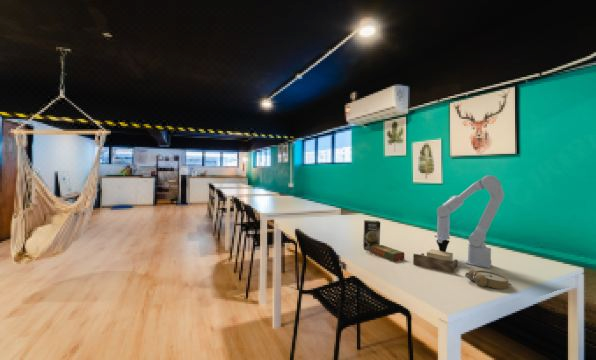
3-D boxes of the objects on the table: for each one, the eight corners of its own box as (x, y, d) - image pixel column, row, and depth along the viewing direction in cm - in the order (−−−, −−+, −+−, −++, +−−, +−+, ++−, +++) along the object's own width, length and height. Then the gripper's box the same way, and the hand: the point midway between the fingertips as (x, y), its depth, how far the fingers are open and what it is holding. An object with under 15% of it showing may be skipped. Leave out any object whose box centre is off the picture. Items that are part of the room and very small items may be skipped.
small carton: (452, 260, 136) (452, 253, 136) (448, 264, 130) (448, 256, 130) (431, 256, 143) (431, 249, 143) (426, 259, 137) (426, 252, 137)
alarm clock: (516, 283, 101) (475, 274, 102) (513, 295, 101) (472, 286, 102) (497, 272, 112) (460, 264, 113) (495, 283, 112) (458, 275, 114)
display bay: (458, 265, 129) (458, 254, 128) (453, 272, 118) (453, 261, 118) (421, 257, 139) (421, 248, 139) (413, 264, 129) (413, 253, 129)
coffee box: (363, 249, 154) (364, 221, 154) (362, 246, 161) (363, 219, 160) (380, 250, 153) (380, 222, 152) (378, 247, 159) (379, 220, 159)
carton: (382, 251, 151) (382, 244, 151) (404, 260, 136) (405, 251, 136) (370, 253, 147) (371, 245, 147) (392, 262, 133) (393, 253, 132)
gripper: (438, 225, 148) (437, 249, 149) (431, 229, 137) (430, 255, 137) (452, 227, 144) (451, 252, 144) (446, 231, 133) (446, 258, 133)
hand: (442, 253), depth 140 cm, fingers closed
